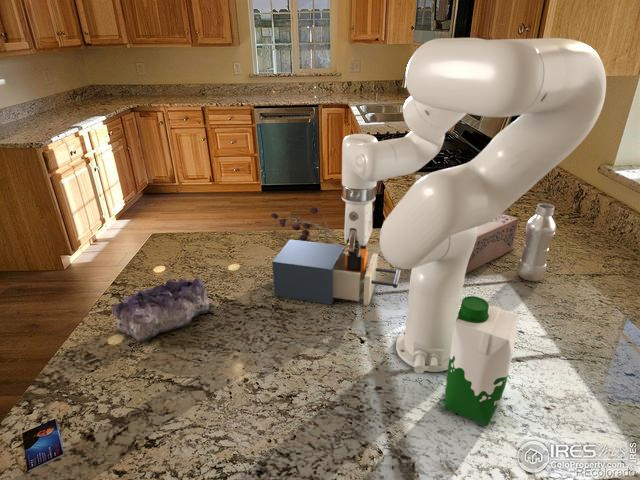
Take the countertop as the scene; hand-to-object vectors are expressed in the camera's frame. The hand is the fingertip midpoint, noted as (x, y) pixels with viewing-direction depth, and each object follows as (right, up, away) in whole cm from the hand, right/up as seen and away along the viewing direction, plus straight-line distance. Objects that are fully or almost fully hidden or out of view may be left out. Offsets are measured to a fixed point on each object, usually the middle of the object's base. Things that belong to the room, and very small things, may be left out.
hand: (356, 263), depth 101 cm
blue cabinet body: (-11, -6, +7) cm, 14 cm away
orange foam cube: (0, -1, +1) cm, 1 cm away
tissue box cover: (+33, +2, +22) cm, 40 cm away
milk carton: (+17, -23, -28) cm, 40 cm away
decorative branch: (-14, +8, +37) cm, 40 cm away
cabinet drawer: (+1, -7, +3) cm, 8 cm away
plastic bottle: (+46, -4, +9) cm, 47 cm away
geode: (-43, -13, -6) cm, 45 cm away
